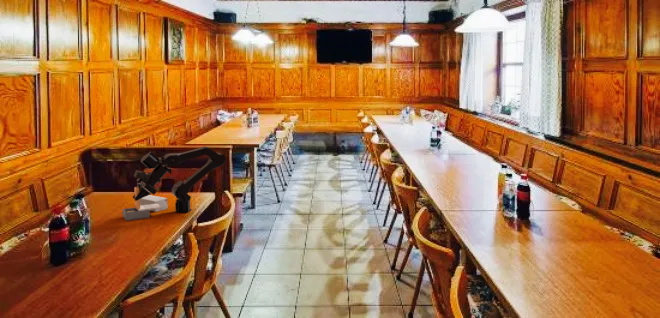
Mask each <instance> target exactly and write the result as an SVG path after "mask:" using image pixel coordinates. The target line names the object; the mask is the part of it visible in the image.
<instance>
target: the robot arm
mask: <svg viewBox="0 0 660 318" xmlns="http://www.w3.org/2000/svg"><path fill="white" fill-rule="evenodd" d="M203 156H206V157H208V159H207V161H206V163H205V164H204V165H203V166H201V167H200V168H199V169H198V170H197V171H195V172H194V173H193V174H192V175H190V176H189V177H188V178H187V179H185V180H184V181H183V180H178V181H177V182H176V183H175V184H173V186H172V188H171V194H172V195H173V196H174V197H175V198H176V200H175V202H174V204H175V206H174V207H175V211H174V213H179V214H180V213H183V214H185V213H186V214H188V213H189V212H191V211H192V208H191V198H192V196H191V195H190V194H188V193H189V192H190V191H191V189H192V187H193V186H195V184H197V183H198V182H200V181H201V180H202V179H203V178H204V177H206V175H208V174H209V173H210V172H212V171H213V170H214V169H217V168H219V167H222V166H223V165H224V164H225V163H226V162H227V161H226V160H227V158H226V156H225V155H224V154H222V153H220V152H216V151H214V150H212V149H211V148H209V147H207V146H201V147H199V148H195V149H191V150H188V151H183V152H173V153H172V152H171V153H166V154H164V156H160V157H157V156H156V155H155V154H154V153H153V152H152V151H149V152H148V153H146V154H145V155H143V156H142V157H141V159H140V162H141V164H143V165H144V166H145V167H147V168H148V169H149V170H151V169H152V170H151V171H150V172H149V171H148V172H145V171H144V170H142V171H140V170H138V169H136V170H135V172H134V174H133V177H134V178H136V182H137V183H136V185H137V187H138V188H139V193H138V194H137V196H136V197H135V193H134V194H133V196H132V199H134V200H133V201H135V200H136V201H137V200H139V199H141V198H143V197H146V196H148V195H152V196H155V195H156V193H157V189H156V187H155V186H156V185H157V184H158V183H160V182H161V179H162V178H163V177H164V176H165V175H166V174H167V173H169V175H172V174H173V173H172V168H171V167H175V166H178V165H179V164H181V163H182V162H184V161H188V160H191V159H197V158H199V157H203Z"/></svg>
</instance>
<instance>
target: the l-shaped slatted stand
mask: <svg viewBox="0 0 660 318" xmlns="http://www.w3.org/2000/svg"><path fill="white" fill-rule="evenodd" d="M133 190H134V194H135V197H136V196H137V194H138V193H139V188H138V186H135V187H134V189H133ZM134 206H135V207H136V209H137V210H138V211H143V210H151V209H160V208H162V207H161V206H160V205H159V204H151V205H150V204H149V205H141V206H140V199H139V200H137V201H136V200H134ZM135 207H134V208H135Z"/></svg>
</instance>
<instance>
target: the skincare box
mask: <svg viewBox="0 0 660 318" xmlns="http://www.w3.org/2000/svg"><path fill="white" fill-rule="evenodd" d="M149 204H150V205H151V204H159V205H160V206H161V207H162V208H160V209H151V210H150V212H160V211H163V210H167V209H168V198H167V197H162V196H157V195H153V194H151V195H148V196H146V197H143V198H141V199H140V206H141V205H149Z"/></svg>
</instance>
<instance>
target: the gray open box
mask: <svg viewBox="0 0 660 318" xmlns="http://www.w3.org/2000/svg"><path fill="white" fill-rule="evenodd" d="M150 213H151V211H150V210H143V211H138V210H137V209H136V207H128V208H123V209H122V217H123V219H124V220H125V221H126V222H128V221H129V222H130V221H135V220H144V219H150V218H151V214H150Z"/></svg>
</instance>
